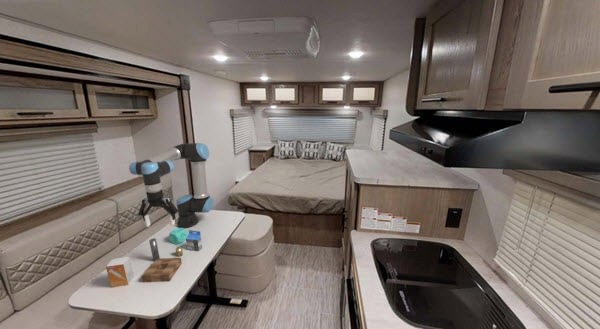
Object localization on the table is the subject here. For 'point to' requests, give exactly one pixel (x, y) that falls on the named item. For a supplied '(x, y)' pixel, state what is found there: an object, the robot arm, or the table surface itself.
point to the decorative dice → (178, 235)
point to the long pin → (154, 249)
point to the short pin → (179, 251)
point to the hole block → (162, 270)
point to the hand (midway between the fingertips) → (161, 225)
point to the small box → (120, 271)
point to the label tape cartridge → (194, 241)
